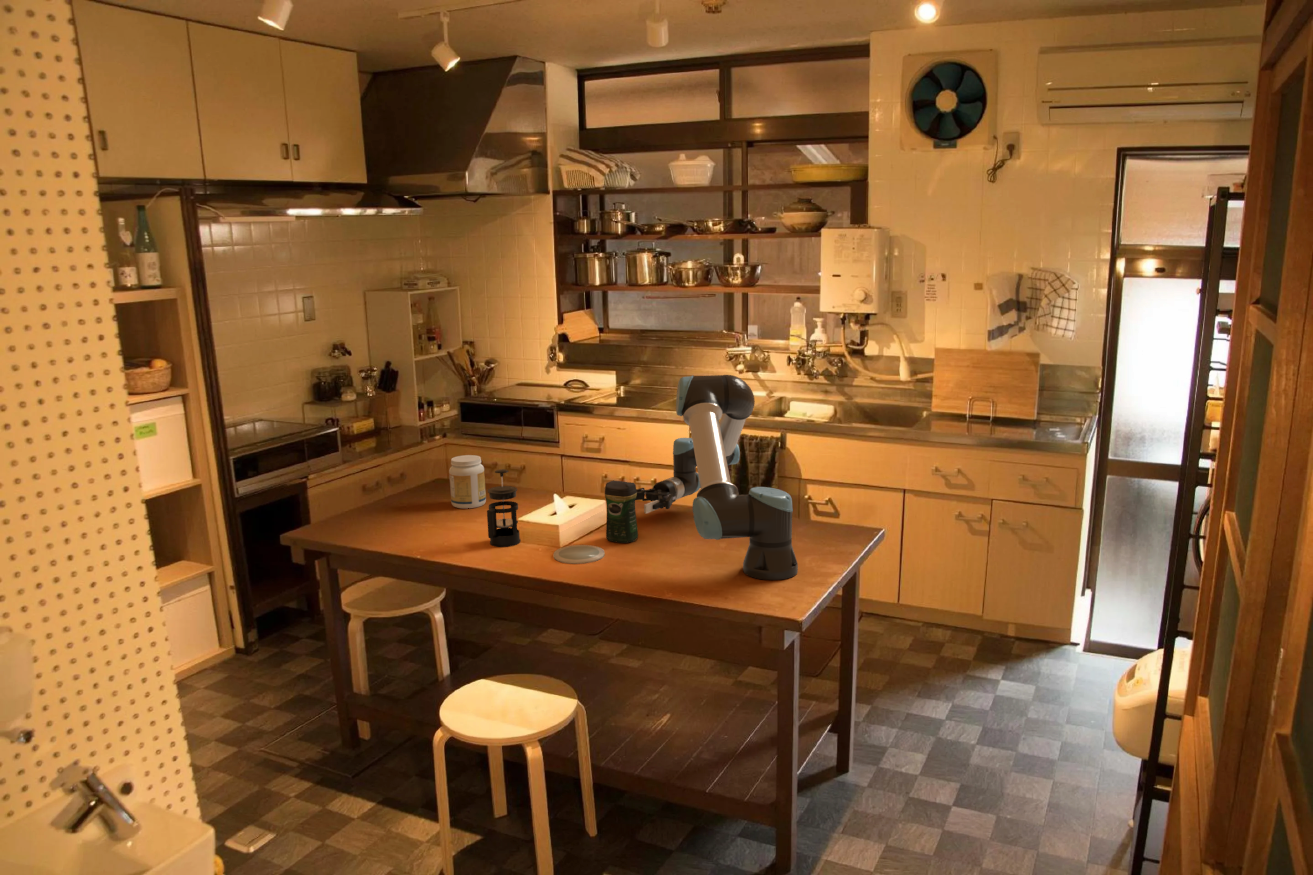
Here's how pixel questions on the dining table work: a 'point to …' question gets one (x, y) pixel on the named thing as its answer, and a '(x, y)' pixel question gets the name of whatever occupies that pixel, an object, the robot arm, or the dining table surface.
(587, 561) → the grey plate
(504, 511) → the french press
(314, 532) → the dining table surface
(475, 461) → the supplement tub
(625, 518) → the coffee jar
